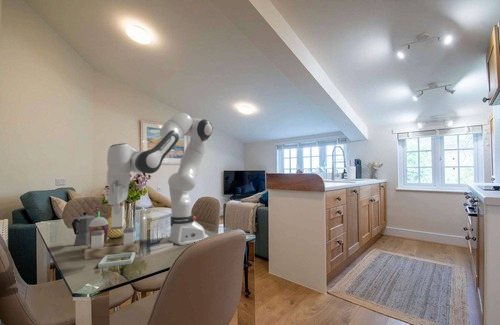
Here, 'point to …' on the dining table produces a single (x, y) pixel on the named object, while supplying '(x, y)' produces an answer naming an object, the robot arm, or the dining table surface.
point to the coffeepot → (82, 229)
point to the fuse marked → (118, 217)
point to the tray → (116, 263)
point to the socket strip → (111, 250)
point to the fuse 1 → (97, 239)
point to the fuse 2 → (129, 236)
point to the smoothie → (99, 226)
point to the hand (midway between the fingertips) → (118, 212)
